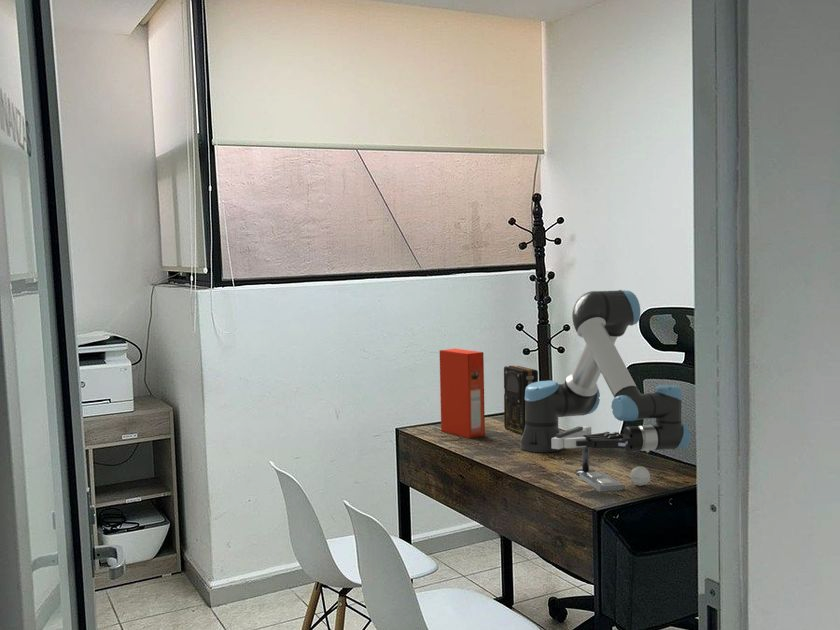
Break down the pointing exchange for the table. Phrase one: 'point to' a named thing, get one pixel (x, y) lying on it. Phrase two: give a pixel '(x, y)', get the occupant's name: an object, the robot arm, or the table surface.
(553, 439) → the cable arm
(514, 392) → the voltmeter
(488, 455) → the table surface
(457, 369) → the file binder
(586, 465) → the post
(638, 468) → the white egg shape
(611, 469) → the table surface
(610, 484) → the plate
